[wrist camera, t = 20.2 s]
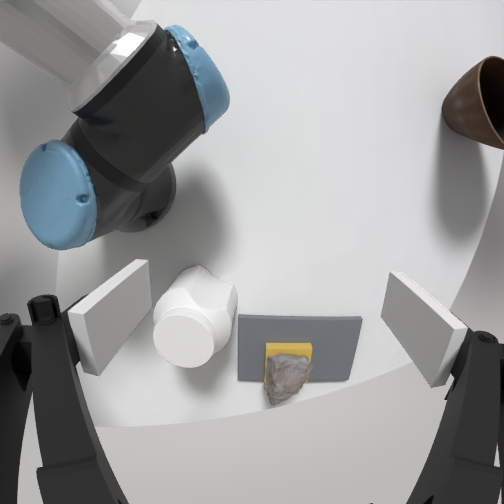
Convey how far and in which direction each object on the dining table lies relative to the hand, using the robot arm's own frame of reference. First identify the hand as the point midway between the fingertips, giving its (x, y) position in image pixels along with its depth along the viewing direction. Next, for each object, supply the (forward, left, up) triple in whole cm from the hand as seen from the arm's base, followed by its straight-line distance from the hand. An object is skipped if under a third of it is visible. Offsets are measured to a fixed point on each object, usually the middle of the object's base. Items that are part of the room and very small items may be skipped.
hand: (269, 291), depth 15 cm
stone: (+4, -27, -29) cm, 39 cm away
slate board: (+7, -25, -32) cm, 41 cm away
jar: (-10, -15, -32) cm, 36 cm away
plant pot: (+35, +21, -32) cm, 52 cm away
